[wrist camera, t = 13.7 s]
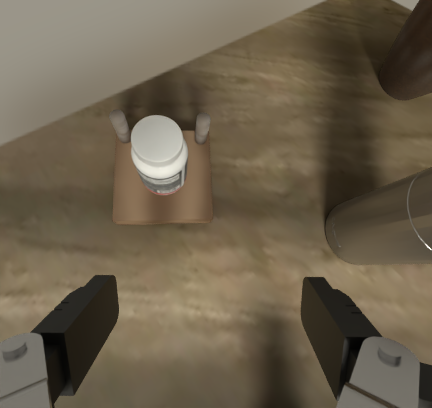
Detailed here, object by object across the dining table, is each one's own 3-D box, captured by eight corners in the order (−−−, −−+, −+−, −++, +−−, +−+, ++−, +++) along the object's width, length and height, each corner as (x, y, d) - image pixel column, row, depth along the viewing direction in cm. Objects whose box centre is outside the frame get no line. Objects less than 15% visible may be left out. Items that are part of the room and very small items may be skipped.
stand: (206, 141, 39) (213, 109, 31) (210, 222, 36) (218, 210, 28) (121, 139, 37) (105, 106, 29) (118, 224, 34) (100, 212, 26)
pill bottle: (155, 146, 34) (146, 98, 25) (194, 166, 34) (200, 127, 25) (131, 182, 33) (112, 147, 23) (172, 204, 33) (169, 178, 23)
